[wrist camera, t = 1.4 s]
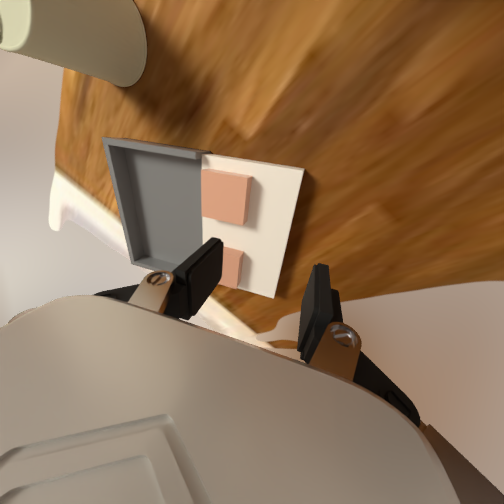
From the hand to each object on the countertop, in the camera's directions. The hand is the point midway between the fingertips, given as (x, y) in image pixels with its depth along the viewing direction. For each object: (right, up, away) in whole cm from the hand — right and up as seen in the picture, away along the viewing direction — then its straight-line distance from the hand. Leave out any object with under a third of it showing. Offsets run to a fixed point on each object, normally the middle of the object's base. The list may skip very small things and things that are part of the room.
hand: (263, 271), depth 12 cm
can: (-18, +27, +12) cm, 35 cm away
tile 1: (-4, +9, +14) cm, 17 cm away
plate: (-1, +5, +19) cm, 19 cm away
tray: (-14, +8, +21) cm, 27 cm away
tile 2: (-5, -1, +20) cm, 20 cm away
